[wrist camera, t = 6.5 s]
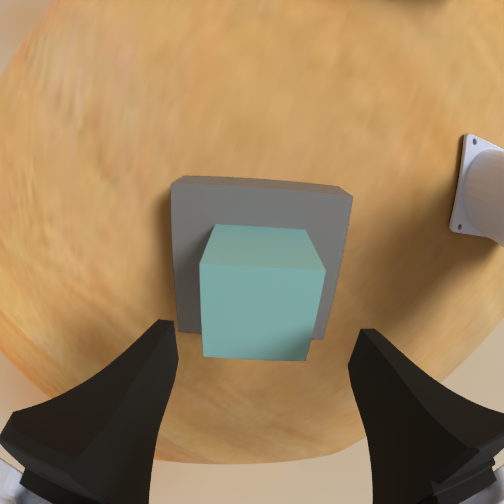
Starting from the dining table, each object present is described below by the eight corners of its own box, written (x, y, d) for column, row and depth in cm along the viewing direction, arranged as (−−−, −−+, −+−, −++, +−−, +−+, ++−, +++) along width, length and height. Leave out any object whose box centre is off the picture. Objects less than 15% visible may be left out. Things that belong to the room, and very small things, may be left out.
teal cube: (305, 229, 16) (325, 270, 11) (294, 305, 18) (305, 360, 13) (215, 224, 16) (199, 263, 11) (214, 300, 18) (203, 356, 13)
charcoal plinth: (338, 186, 18) (353, 196, 15) (315, 314, 22) (322, 339, 19) (183, 175, 17) (170, 183, 15) (187, 307, 21) (178, 331, 19)
